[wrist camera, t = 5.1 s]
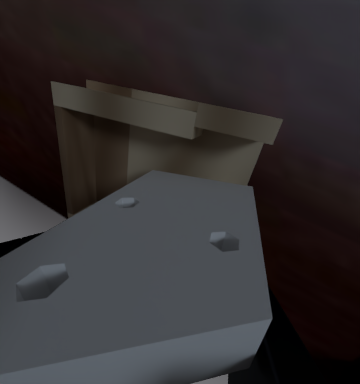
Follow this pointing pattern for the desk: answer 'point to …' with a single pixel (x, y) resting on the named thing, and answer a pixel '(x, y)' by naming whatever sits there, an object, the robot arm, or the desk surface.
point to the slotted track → (149, 139)
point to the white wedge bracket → (138, 288)
